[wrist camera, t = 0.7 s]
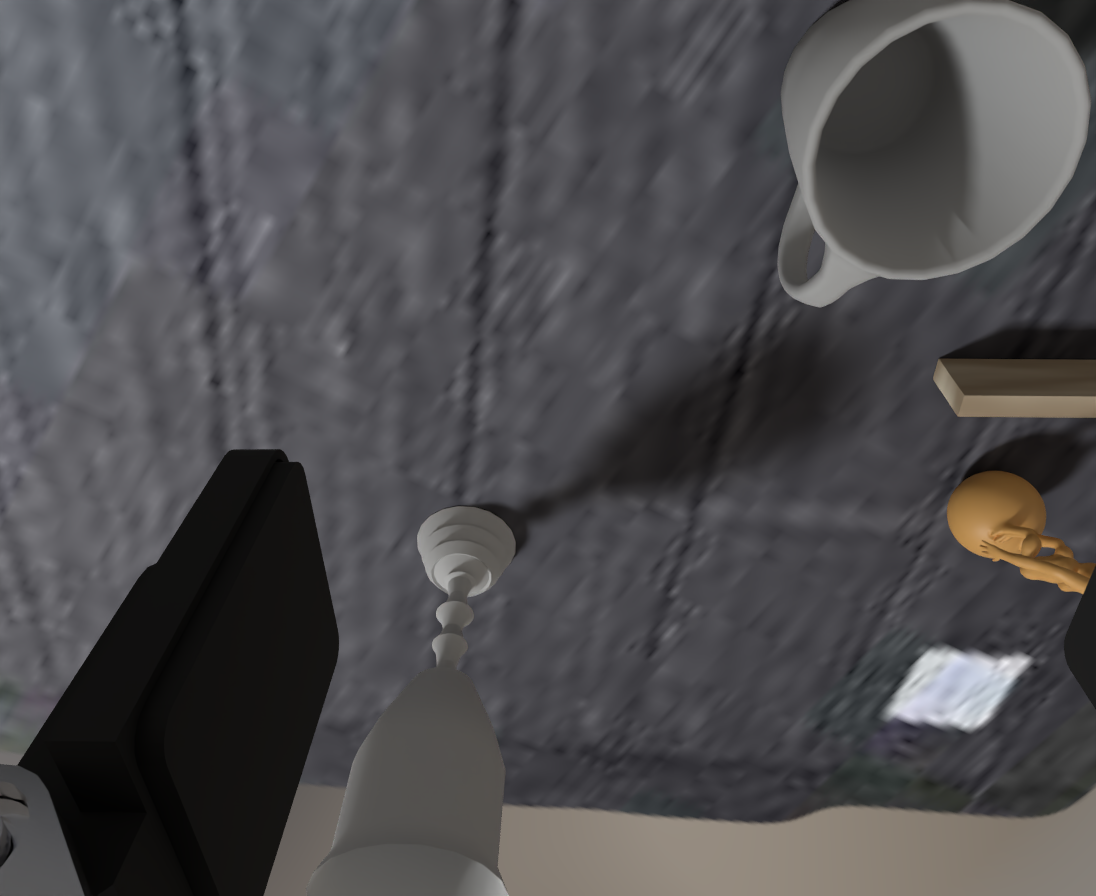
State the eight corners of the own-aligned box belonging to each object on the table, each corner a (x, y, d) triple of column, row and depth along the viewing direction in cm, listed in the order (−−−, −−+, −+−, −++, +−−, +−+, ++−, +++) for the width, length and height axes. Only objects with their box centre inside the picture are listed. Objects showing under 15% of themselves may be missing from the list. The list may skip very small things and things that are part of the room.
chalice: (437, 467, 41) (355, 819, 26) (560, 524, 42) (548, 882, 28) (376, 564, 44) (276, 918, 30) (492, 612, 46) (451, 969, 32)
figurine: (879, 491, 41) (974, 695, 31) (958, 391, 37) (1092, 584, 28) (1023, 542, 42) (1156, 752, 32) (1111, 451, 39) (1289, 654, 29)
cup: (1021, 24, 29) (1160, 80, 22) (846, 273, 34) (914, 381, 27) (833, -84, 27) (919, -60, 20) (680, 195, 33) (707, 289, 26)
